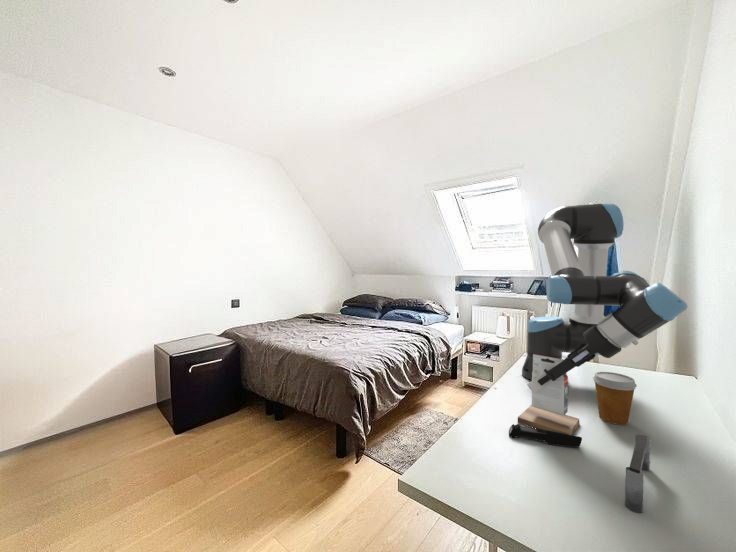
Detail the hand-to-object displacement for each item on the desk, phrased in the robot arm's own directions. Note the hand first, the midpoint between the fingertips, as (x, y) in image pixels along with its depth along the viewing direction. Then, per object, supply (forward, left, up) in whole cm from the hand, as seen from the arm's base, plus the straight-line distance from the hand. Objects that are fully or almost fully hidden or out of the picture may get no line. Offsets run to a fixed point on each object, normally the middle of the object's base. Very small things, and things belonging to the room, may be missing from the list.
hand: (533, 386), depth 86 cm
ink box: (0, +4, -5) cm, 7 cm away
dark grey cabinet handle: (+14, +23, -9) cm, 29 cm away
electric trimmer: (+10, +5, -10) cm, 15 cm away
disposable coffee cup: (-16, +16, -9) cm, 24 cm away
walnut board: (0, +4, -9) cm, 10 cm away
